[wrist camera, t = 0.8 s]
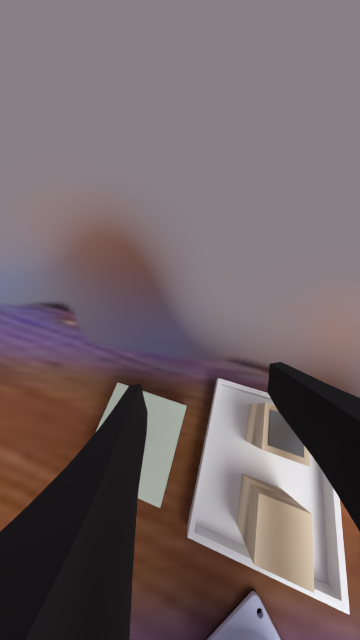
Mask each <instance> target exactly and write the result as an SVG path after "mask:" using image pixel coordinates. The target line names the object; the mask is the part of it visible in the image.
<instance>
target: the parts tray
mask: <svg viewBox="0 0 360 640" xmlns="http://www.w3.org/2000/svg"><path fill="white" fill-rule="evenodd" d="M256 403H268V404H272V405H274V403H273V401H272V400H271V398H270V396H269V394H268V393H266V392H263V391H260V390H256V389H253V388H250V387H246V386H243V385H240V384H236V383H233V382H230V381H226V380H223V379H220V378H218V379H217V380H216V384H215V389H214V394H213V399H212V404H211V409H210V414H209V419H208V424H207V429H206V434H205V439H204V444H203V449H202V454H201V459H200V464H199V469H198V474H197V479H196V484H195V489H194V494H193V499H192V504H191V509H190V514H189V519H188V525H187V537H188V538H190V539H192V540H194V541H196V542H198V543H200V544H202V545H204V546H206V547H208V548H211V549H213V550H215V551H217V552H219V553H221V554H223V555H225V556H227V557H229V558H232V559H234V560H236V561H238V562H240V563H242V564H244V565H246V566H248V567H250V568H252V569H255V570H257V571H259V572H261V573H263V574H265V575H267V576H269V577H271V578H273V579H275V580H278V581H280V582H282V583H284V584H286V585H288V586H290V587H292V588H294V589H296V590H299V591H301V592H303V593H305V594H307V595H309V596H311V597H313V598H315V599H317V600H319V601H322V602H324V603H326V604H328V605H330V606H332V607H334V608H336V609H338V610H340V611H343V612H345V613H347V614H349V615H350V612H349V600H348V589H347V578H346V566H345V555H344V544H343V532H342V521H341V509H340V498H339V497H338V495H337V493H336V492H335V490H334V489H333V487H332V485H331V484H330V482H329V481H328V479H327V478H326V476H325V475H324V473H323V471H322V470H321V468H320V467H319V465H318V464H317V462H316V461H315V460H314V458H313V457H312V455H311V454H310V467H309V466H306V465H303V464H300V463H298V462H295V461H292V460H289V459H286V458H284V457H281V456H278V455H275V454H272V453H270V452H267V451H264V450H261V449H259V448H258V447H256V446H254V445H252V444H250V443H248V442H246V432H247V422H248V413H249V404H256ZM242 474H245V475H247V476H250V477H253V478H255V479H258V480H260V481H263V482H265V483H268V484H271V485H273V486H276V487H278V488H281V489H282V490H284V491H285V492H286V493H287V494H288V495H290V496H291V497H292V498H293V499H294V500H296V501H297V502H298V503H299V504H300V505H302V506H303V507H304V508H305V509H306V510H308V511H309V512H310V513H311V514H312V535H313V566H314V593H313V592H311V591H309V590H306V589H304V588H302V587H300V586H298V585H296V584H294V583H292V582H289V581H287V580H285V579H283V578H281V577H279V576H277V575H275V574H273V573H270V572H268V571H266V570H264V569H262V568H260V567H258V566H256V565H254V564H253V562H252V559H251V557H250V555H249V552H248V550H247V548H246V545H245V543H244V540H243V538H242V536H241V533H240V531H239V529H238V526H237V516H238V506H239V497H240V488H241V479H242Z"/></svg>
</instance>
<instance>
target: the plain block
mask: <svg viewBox="0 0 360 640" xmlns="http://www.w3.org/2000/svg"><path fill="white" fill-rule="evenodd" d="M237 526H238V529H239V531H240V533H241V536H242V538H243V540H244V543H245V545H246V548H247V550H248V552H249V555H250V557H251V559H252V562H253V564H254V565H256V566H258V567H260V568H262V569H264V570H266V571H268V572H270V573H273V574H275V575H277V576H279V577H281V578H283V579H285V580H287V581H289V582H292V583H294V584H296V585H298V586H300V587H302V588H304V589H306V590H309V591H311V592H313V593H314V566H313V535H312V514H311V513H310V512H309V511H308V510H306V509H305V508H304V507H303V506H302V505H300V504H299V503H298V502H297V501H296V500H294V499H293V498H292V497H291V496H290V495H288V494H287V493H286V492H285V491H284V490H282V489H281V488H278V487H276V486H273V485H271V484H268V483H265V482H263V481H260V480H258V479H255V478H253V477H250V476H247V475H245V474H242V479H241V488H240V497H239V506H238V516H237Z"/></svg>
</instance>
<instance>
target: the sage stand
mask: <svg viewBox="0 0 360 640" xmlns="http://www.w3.org/2000/svg"><path fill="white" fill-rule="evenodd" d="M128 387H129V386H127V385H124V384H121V383H117V385H116V387H115V390H114V392H113V394H112V396H111V399H110V401H109V403H108V405H107V408H106V410H105V412H104V414H103V417H102V419H101V421H100V423H99V425H98V428H97V430H98V429H99V427H100V426H101V425H102V424H103V422H104V421H105V420H106V418H107V417H108V415H109V414H110V413H111V411H112V410H113V409H114V407H115V406H116V404H117V403H118V401H119V400H120V398H121V397H122V395H123V394H124V393H125V391H126V390H127V388H128ZM143 396H144V400H145V404H146V408H147V412H148V417H147V435H146V442H145V449H144V456H143V463H142V469H141V476H140V483H139V491H138V498H139V499H141V500H143V501H145V502H148V503H150V504H152V505H154V506H156V507H158V508H160V507H161V503H162V500H163V496H164V493H165V489H166V485H167V481H168V477H169V473H170V469H171V465H172V461H173V458H174V454H175V450H176V446H177V442H178V438H179V434H180V430H181V426H182V423H183V419H184V415H185V411H186V407H187V406H186V405H183V404H180V403H177V402H174V401H171V400H168V399H165V398H162V397H159V396H156V395H153V394H150V393H148V392H145V391H143ZM97 430H96V431H97ZM95 433H96V432H95Z"/></svg>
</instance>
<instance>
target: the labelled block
mask: <svg viewBox="0 0 360 640" xmlns="http://www.w3.org/2000/svg"><path fill="white" fill-rule="evenodd" d="M246 442H248V443H250V444H252V445H254V446H256V447H258V448H259V449H261V450H264V451H267V452H270V453H272V454H275V455H278V456H281V457H284V458H286V459H289V460H292V461H295V462H298V463H300V464H303V465H306V466H309V467H310V453H309V451H308V450H307V449H306V447H305V446H304V445H303V443H302V442H301V441H300V439H299V438H298V437H297V435H296V434H295V433H294V431H293V430H292V429H291V427H290V426H289V425H288V423H287V422H286V421H285V419H284V418H283V417H282V415H281V414H280V413H279V411H278V410H277V408H276V406H275V405H272V404H268V403H256V404H249V413H248V422H247V432H246Z"/></svg>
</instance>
